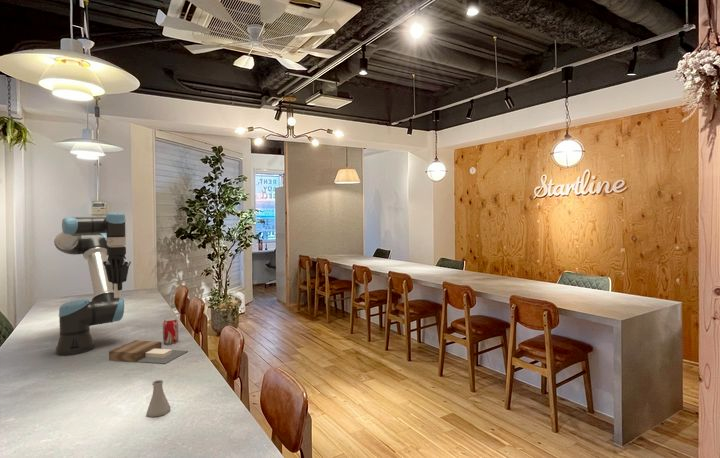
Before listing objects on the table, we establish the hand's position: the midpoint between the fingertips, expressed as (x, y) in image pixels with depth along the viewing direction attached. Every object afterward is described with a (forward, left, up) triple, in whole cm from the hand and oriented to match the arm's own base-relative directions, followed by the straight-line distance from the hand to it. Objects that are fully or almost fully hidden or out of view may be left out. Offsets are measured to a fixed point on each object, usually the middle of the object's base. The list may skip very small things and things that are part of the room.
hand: (117, 297), depth 185 cm
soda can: (+13, +19, -27) cm, 35 cm away
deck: (+9, 0, -26) cm, 28 cm away
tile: (+21, 0, -26) cm, 33 cm away
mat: (+23, 0, -26) cm, 35 cm away
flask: (+56, -46, -27) cm, 77 cm away
